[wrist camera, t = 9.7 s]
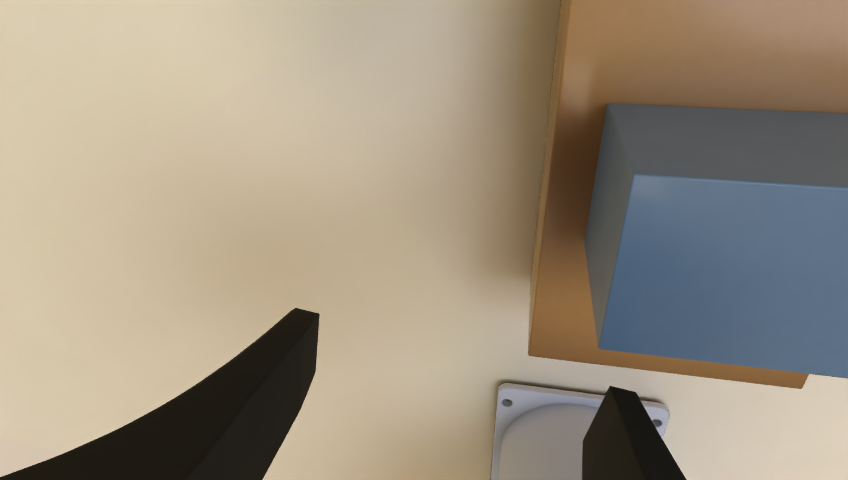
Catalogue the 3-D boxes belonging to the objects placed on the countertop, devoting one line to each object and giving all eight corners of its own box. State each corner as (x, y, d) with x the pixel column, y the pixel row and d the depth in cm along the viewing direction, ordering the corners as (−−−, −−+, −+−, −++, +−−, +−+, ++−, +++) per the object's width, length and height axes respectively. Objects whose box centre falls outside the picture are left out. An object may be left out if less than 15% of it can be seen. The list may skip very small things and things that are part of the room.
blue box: (810, 263, 16) (910, 387, 11) (583, 243, 17) (597, 350, 13) (871, 113, 14) (1023, 198, 9) (606, 102, 15) (633, 173, 10)
